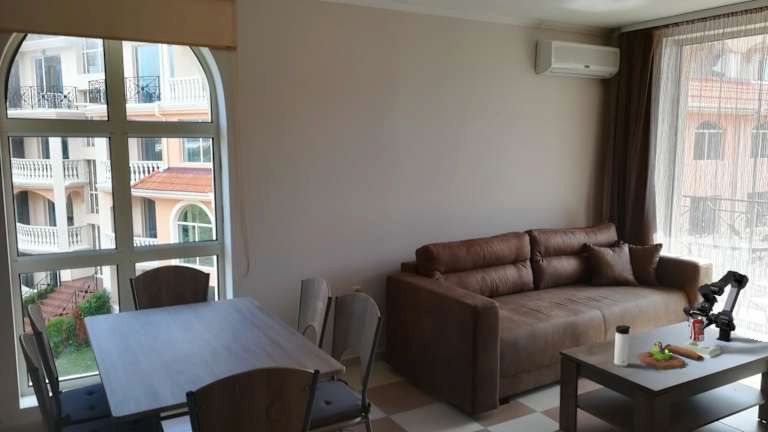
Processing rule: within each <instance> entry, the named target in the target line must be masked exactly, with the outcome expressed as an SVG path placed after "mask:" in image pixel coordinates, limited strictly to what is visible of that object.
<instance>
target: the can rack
mask: <svg viewBox="0 0 768 432" xmlns="http://www.w3.org/2000/svg"><path fill="white" fill-rule="evenodd" d="M682 345H683V346H682V348H685V349H689V350H693V351H695V352H696V353H697V354H699V355H701V356H703V357H704V358H705V357H706V358H709V359H710V358H712V357H715V356H717V354H719V353H721V351H722V350H721V345H719V344H715V345H713V346H711V347H708V346H705V345H701V344H698V342H695V341H692V340H691V339H690V341H687V342H685V343H683V344H682Z"/></svg>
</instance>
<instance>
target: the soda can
mask: <svg viewBox="0 0 768 432" xmlns="http://www.w3.org/2000/svg"><path fill="white" fill-rule="evenodd" d="M704 322H705V320H704V317H701V316H694V317H691V320H690V327H689V339H690V341H691V340H692V341H695V342H697V343H701V342H703V341H705V329H704V330H701V328H702V326H703V324H704Z"/></svg>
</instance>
